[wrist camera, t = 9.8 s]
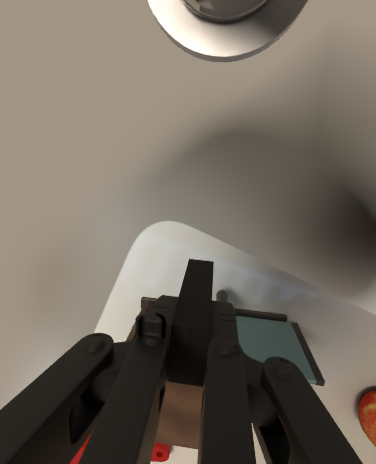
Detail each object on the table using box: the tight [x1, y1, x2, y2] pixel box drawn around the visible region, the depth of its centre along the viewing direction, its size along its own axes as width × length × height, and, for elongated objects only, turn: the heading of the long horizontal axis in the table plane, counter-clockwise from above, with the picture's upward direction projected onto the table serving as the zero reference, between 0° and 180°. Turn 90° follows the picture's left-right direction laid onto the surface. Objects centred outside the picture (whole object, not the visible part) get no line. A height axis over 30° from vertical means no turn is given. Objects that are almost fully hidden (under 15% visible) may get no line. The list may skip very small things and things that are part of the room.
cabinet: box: [126, 297, 287, 449], centre depth 39 cm, size 13×24×14 cm, turn 86°
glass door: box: [216, 290, 325, 386], centre depth 36 cm, size 6×15×11 cm, turn 86°
